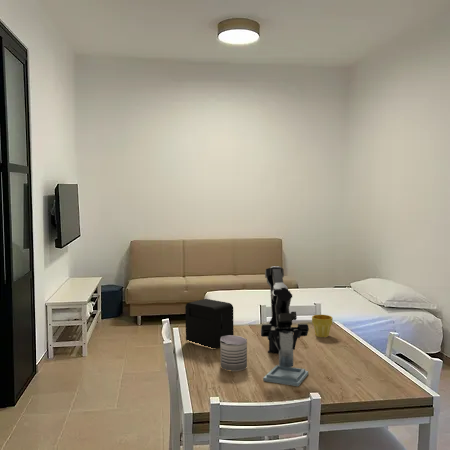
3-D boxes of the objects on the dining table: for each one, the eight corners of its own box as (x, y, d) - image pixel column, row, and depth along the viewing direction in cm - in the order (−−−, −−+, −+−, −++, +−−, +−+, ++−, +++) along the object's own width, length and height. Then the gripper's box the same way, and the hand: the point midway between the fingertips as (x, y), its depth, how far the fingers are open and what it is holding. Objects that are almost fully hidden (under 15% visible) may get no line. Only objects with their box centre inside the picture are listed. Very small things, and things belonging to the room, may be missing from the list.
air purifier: (235, 343, 236) (235, 302, 235) (215, 350, 226) (215, 308, 224) (206, 336, 250) (205, 297, 249) (185, 342, 239) (185, 302, 238)
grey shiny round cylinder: (276, 364, 192) (276, 331, 191) (286, 361, 195) (286, 329, 194) (285, 368, 187) (285, 335, 186) (296, 365, 190) (296, 332, 189)
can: (233, 360, 212) (233, 333, 211) (252, 366, 204) (252, 338, 203) (214, 366, 204) (214, 338, 203) (233, 373, 196) (233, 344, 195)
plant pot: (334, 338, 243) (334, 319, 243) (313, 338, 243) (313, 319, 243) (330, 332, 254) (330, 314, 253) (310, 332, 254) (310, 314, 253)
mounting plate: (263, 380, 188) (263, 375, 188) (275, 369, 200) (275, 363, 200) (298, 386, 182) (298, 380, 182) (308, 374, 194) (308, 368, 194)
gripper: (261, 304, 193) (264, 339, 183) (307, 303, 194) (313, 339, 183) (259, 318, 202) (262, 353, 191) (304, 318, 202) (309, 352, 192)
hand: (286, 349), depth 189 cm, fingers closed on grey shiny round cylinder, 6 cm apart
